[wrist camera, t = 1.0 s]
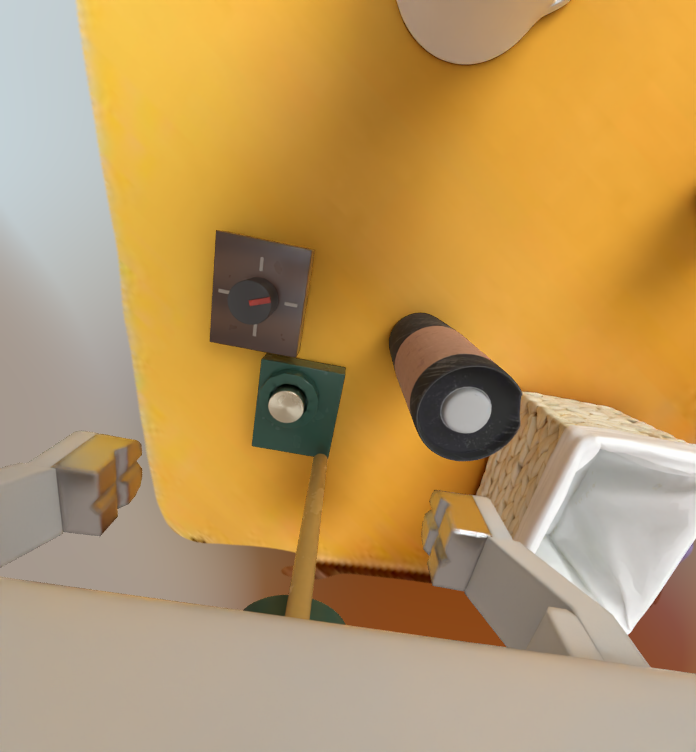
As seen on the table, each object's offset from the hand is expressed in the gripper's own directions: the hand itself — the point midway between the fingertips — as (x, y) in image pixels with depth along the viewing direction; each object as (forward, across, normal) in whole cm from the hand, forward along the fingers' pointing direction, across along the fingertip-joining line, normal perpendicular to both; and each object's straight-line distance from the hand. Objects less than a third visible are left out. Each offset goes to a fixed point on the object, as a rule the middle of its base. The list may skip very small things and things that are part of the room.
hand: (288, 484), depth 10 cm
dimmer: (+34, +8, 0) cm, 35 cm away
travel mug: (+34, -10, +2) cm, 35 cm away
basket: (+34, -32, +17) cm, 49 cm away
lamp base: (+34, +2, +13) cm, 36 cm away
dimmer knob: (+30, +8, 0) cm, 32 cm away
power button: (+29, +3, +11) cm, 32 cm away
